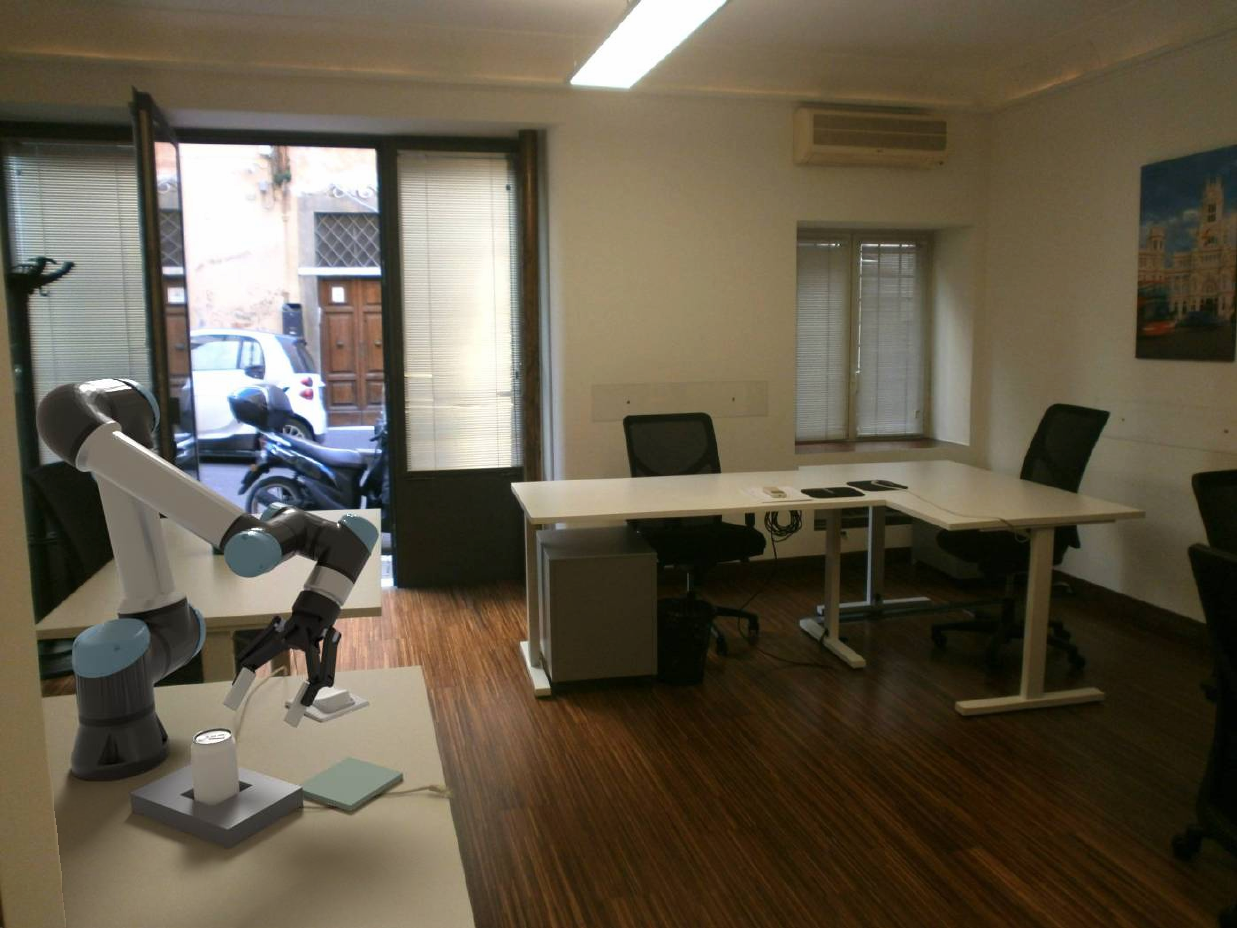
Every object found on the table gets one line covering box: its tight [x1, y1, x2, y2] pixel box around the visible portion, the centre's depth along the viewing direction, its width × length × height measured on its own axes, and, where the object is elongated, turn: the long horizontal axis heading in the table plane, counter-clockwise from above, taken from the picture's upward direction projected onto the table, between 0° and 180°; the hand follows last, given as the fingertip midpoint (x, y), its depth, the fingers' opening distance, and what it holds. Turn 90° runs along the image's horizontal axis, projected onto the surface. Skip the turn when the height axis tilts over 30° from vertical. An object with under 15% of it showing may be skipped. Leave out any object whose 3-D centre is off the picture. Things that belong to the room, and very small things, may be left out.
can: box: [190, 727, 239, 807], centre depth 149 cm, size 6×6×12 cm
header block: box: [129, 763, 304, 849], centre depth 150 cm, size 22×14×3 cm, turn 61°
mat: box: [298, 756, 404, 813], centre depth 157 cm, size 12×12×1 cm
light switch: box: [284, 684, 371, 723], centre depth 189 cm, size 11×4×13 cm
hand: (258, 715), depth 154 cm, fingers open, 13 cm apart
